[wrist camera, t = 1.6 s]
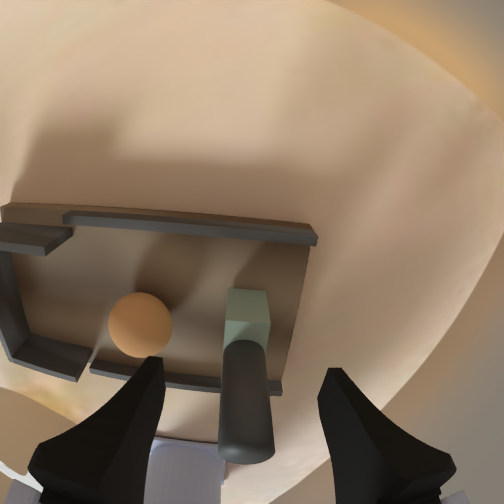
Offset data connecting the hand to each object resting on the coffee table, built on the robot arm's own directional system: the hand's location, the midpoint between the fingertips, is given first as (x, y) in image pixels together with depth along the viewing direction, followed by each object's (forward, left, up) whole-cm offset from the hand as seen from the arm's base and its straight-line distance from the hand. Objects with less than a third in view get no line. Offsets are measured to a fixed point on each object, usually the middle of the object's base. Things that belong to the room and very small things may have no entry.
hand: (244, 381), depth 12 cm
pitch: (0, +7, -6) cm, 9 cm away
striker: (0, 0, -5) cm, 5 cm away
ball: (0, +6, -3) cm, 6 cm away
